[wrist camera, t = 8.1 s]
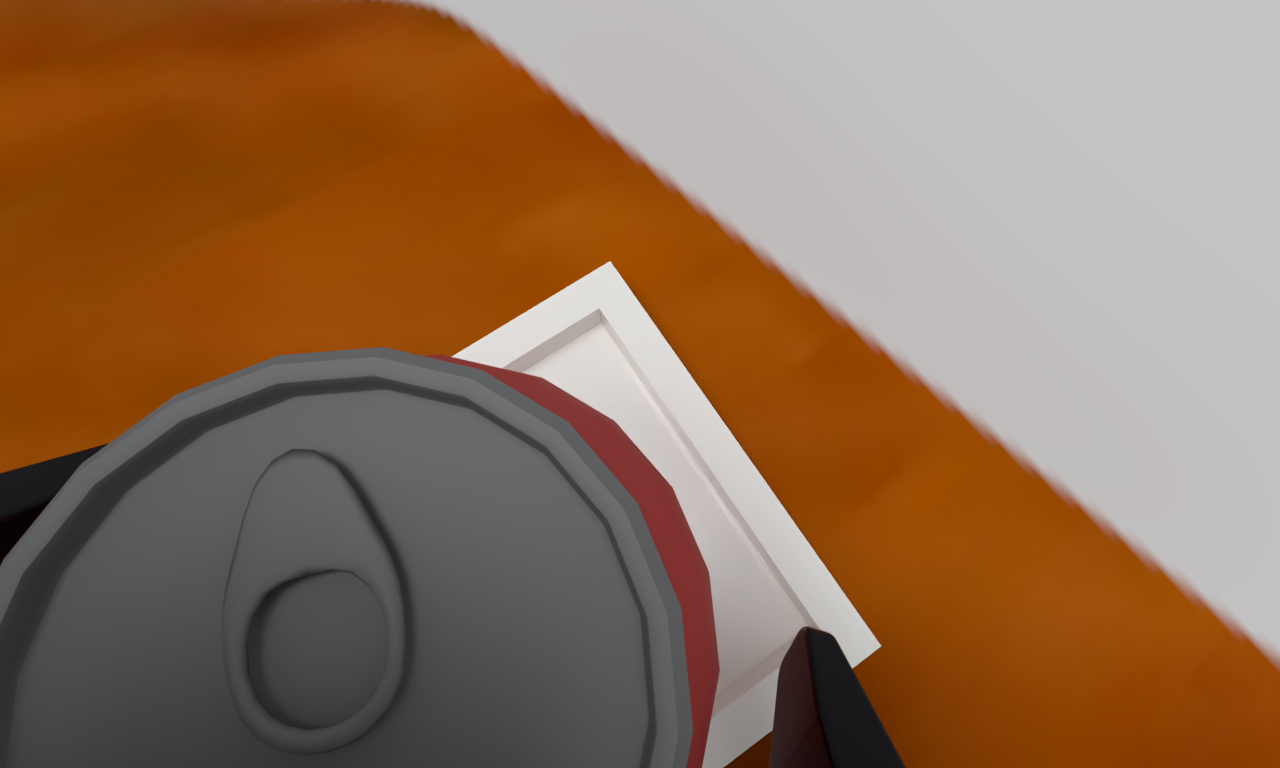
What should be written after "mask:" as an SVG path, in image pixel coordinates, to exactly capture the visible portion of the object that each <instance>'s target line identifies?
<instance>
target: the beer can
mask: <svg viewBox="0 0 1280 768" xmlns="http://www.w3.org/2000/svg"><path fill="white" fill-rule="evenodd" d="M719 672H720V667H719V658H718V649H717V639H716V630H715V621H714V612H713V603H712V594H711V585H710V576H709V571H708V568H707V566H706V564H705V561H704V559H703V557H702V554H701V552H700V550H699V548H698V545H697V543H696V541H695V538H694V536H693V534H692V531H691V529H690V527H689V524H688V522H687V520H686V517H685V515H684V513H683V511H682V508H681V506H680V504H679V501H678V499H677V497H676V494H675V492H674V490H673V487H672V486H671V485H670V484H669V483H668V481H667V480H666V479H665V478H664V477H663V476H662V475H661V473H660V472H659V471H658V470H657V469H656V468H655V467H654V465H653V464H652V463H651V462H650V461H649V460H648V459H647V457H646V456H645V455H644V454H643V453H642V452H641V450H640V449H639V448H638V447H637V446H636V445H635V444H634V442H633V441H632V440H631V439H630V438H629V437H628V436H627V434H626V433H625V432H624V431H623V430H622V429H621V428H620V426H619V425H618V424H617V423H616V422H615V421H614V420H612V419H611V418H609V417H607V416H606V415H604V414H602V413H601V412H599V411H597V410H596V409H594V408H592V407H591V406H589V405H587V404H586V403H584V402H582V401H581V400H579V399H577V398H575V397H574V396H572V395H570V394H569V393H567V392H565V391H564V390H562V389H560V388H559V387H557V386H555V385H554V384H552V383H550V382H549V381H547V380H545V379H544V378H542V377H538V376H533V375H529V374H525V373H520V372H516V371H511V370H507V369H503V368H498V367H494V366H489V365H485V364H481V363H476V362H472V361H467V360H463V359H459V358H454V357H449V356H445V355H429V356H419V355H415V354H410V353H406V352H402V351H397V350H393V349H389V348H384V347H379V348H366V349H354V350H341V351H329V352H316V353H304V354H291V355H279V356H276V357H274V358H271V359H268V360H266V361H263V362H260V363H258V364H255V365H253V366H250V367H247V368H245V369H242V370H239V371H237V372H234V373H232V374H229V375H226V376H224V377H221V378H218V379H216V380H213V381H210V382H208V383H205V384H203V385H200V386H197V387H195V388H192V389H189V390H187V391H184V392H182V393H179V394H176V395H175V396H173V397H172V398H171V399H169V400H168V401H167V402H165V403H164V404H163V405H161V406H160V407H158V408H157V409H156V410H154V411H153V412H152V413H150V414H149V415H147V416H146V417H145V418H143V419H142V420H141V421H139V422H138V423H136V424H135V425H134V426H132V427H131V428H130V429H128V430H127V431H125V432H124V433H123V434H121V435H120V436H119V437H117V438H116V439H115V440H113V441H112V442H110V443H109V444H108V445H106V446H105V447H104V448H102V449H101V450H99V451H98V452H97V453H95V454H94V455H93V456H91V457H90V458H88V459H87V460H86V461H84V462H83V463H82V464H81V465H80V466H79V467H78V469H77V470H76V471H75V472H74V473H73V475H72V476H71V477H70V478H69V480H68V481H67V482H66V483H65V485H64V486H63V487H62V488H61V489H60V491H59V492H58V493H57V494H56V496H55V497H54V498H53V499H52V500H51V502H50V503H49V504H48V505H47V507H46V508H45V509H44V510H43V511H42V513H41V514H40V515H39V516H38V518H37V519H36V520H35V521H34V523H33V524H32V525H31V526H30V527H29V529H28V530H27V531H26V532H25V534H24V535H23V536H22V537H21V538H20V540H19V541H18V542H17V543H16V545H15V546H14V547H13V548H12V549H11V551H10V552H9V553H8V554H7V556H6V557H5V558H4V559H3V561H2V564H1V566H0V768H702V765H703V759H704V754H705V749H706V743H707V738H708V732H709V727H710V721H711V716H712V710H713V705H714V700H715V694H716V689H717V683H718V678H719Z"/></svg>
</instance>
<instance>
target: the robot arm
mask: <svg viewBox="0 0 1280 768" xmlns="http://www.w3.org/2000/svg"><path fill="white" fill-rule="evenodd" d="M108 444H109V443H108ZM108 444H105V445H101V446H97V447H94V448H90V449H87V450H83V451H79V452H76V453H72V454H69V455H65V456H61V457H58V458H54V459H51V460H47V461H43V462H40V463H36V464H33V465H29V466H25V467H22V468H18V469H15V470H11V471H7V472H4V473H0V566H1V564H2V561H3V559H4V558H5V557H6V556H7V554H8V553H9V552H10V551H11V549H12V548H13V547H14V546H15V545H16V543H17V542H18V541H19V540H20V538H21V537H22V536H23V535H24V534H25V532H26V531H27V530H28V529H29V527H30V526H31V525H32V524H33V523H34V521H35V520H36V519H37V518H38V516H39V515H40V514H41V513H42V511H43V510H44V509H45V508H46V507H47V505H48V504H49V503H50V502H51V500H52V499H53V498H54V497H55V496H56V494H57V493H58V492H59V491H60V489H61V488H62V487H63V486H64V485H65V483H66V482H67V481H68V480H69V478H70V477H71V476H72V475H73V473H74V472H75V471H76V470H77V469H78V467H79V466H80V465H81V464H82V463H83V462H84V461H86V460H87V459H88V458H90V457H91V456H93V455H94V454H95V453H97V452H98V451H99V450H101V449H102V448H104V447H105V446H106V445H108ZM769 768H906V767H905V765H904V763H903V762H902V760H901V758H900V756H899V754H898V752H897V750H896V749H895V747H894V745H893V743H892V741H891V739H890V738H889V736H888V734H887V732H886V730H885V728H884V726H883V725H882V723H881V721H880V719H879V717H878V715H877V714H876V712H875V710H874V708H873V706H872V704H871V703H870V701H869V699H868V697H867V695H866V693H865V691H864V690H863V688H862V686H861V684H860V682H859V680H858V679H857V677H856V675H855V673H854V671H853V669H852V667H851V666H850V664H849V662H848V660H847V658H846V656H845V655H844V653H843V651H842V649H841V647H840V645H839V643H838V642H837V640H836V638H835V637H834V636H833V635H832V634H830V633H828V632H825V631H822V630H819V629H816V628H812V627H809V626H804V627H802V628H801V629H800V630H799V632H798V633H797V635H796V637H795V639H794V640H793V642H792V644H791V646H790V647H789V649H788V651H787V653H786V654H785V656H784V658H783V660H782V663H781V665H780V669H779V674H778V682H777V692H776V702H775V712H774V722H773V731H772V741H771V751H770V761H769Z"/></svg>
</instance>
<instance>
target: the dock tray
mask: <svg viewBox="0 0 1280 768" xmlns="http://www.w3.org/2000/svg"><path fill="white" fill-rule="evenodd" d="M452 357H454V358H459V359H463V360H467V361H472V362H476V363H481V364H485V365H489V366H494V367H498V368H503V369H507V370H511V371H516V372H520V373H525V374H529V375H533V376H538V377H542V378H544V379H545V380H547V381H549V382H550V383H552V384H554V385H555V386H557V387H559V388H560V389H562V390H564V391H565V392H567V393H569V394H570V395H572V396H574V397H575V398H577V399H579V400H581V401H582V402H584V403H586V404H587V405H589V406H591V407H592V408H594V409H596V410H597V411H599V412H601V413H602V414H604V415H606V416H607V417H609V418H611V419H612V420H614V421H615V422H616V423H617V424H618V425H619V426H620V428H621V429H622V430H623V431H624V432H625V433H626V434H627V436H628V437H629V438H630V439H631V440H632V441H633V442H634V444H635V445H636V446H637V447H638V448H639V449H640V450H641V452H642V453H643V454H644V455H645V456H646V457H647V459H648V460H649V461H650V462H651V463H652V464H653V465H654V467H655V468H656V469H657V470H658V471H659V472H660V473H661V475H662V476H663V477H664V478H665V479H666V480H667V481H668V483H669V484H670V485H671V486H672V487H673V490H674V492H675V494H676V497H677V499H678V501H679V504H680V506H681V508H682V511H683V513H684V515H685V517H686V520H687V522H688V524H689V527H690V529H691V531H692V534H693V536H694V538H695V541H696V543H697V545H698V548H699V550H700V552H701V554H702V557H703V559H704V561H705V564H706V566H707V568H708V571H709V576H710V585H711V594H712V603H713V612H714V621H715V630H716V639H717V649H718V658H719V667H720V672H719V678H718V683H717V689H716V694H715V700H714V705H713V710H712V716H711V721H710V727H709V732H708V738H707V743H706V749H705V754H704V759H703V765H702V768H724V767H725V766H726V765H728V764H729V763H730V762H732V761H733V760H734V759H735V758H737V757H738V756H739V755H741V754H742V753H743V752H745V751H746V750H747V749H748V748H750V747H751V746H752V745H754V744H755V743H756V742H758V741H759V740H760V739H761V738H763V737H764V736H765V735H767V734H768V733H769V732H771V731H772V730H773V722H774V712H775V702H776V692H777V682H778V674H779V669H780V665H781V663H782V660H783V658H784V656H785V654H786V653H787V651H788V649H789V647H790V646H791V644H792V642H793V640H794V639H795V637H796V635H797V633H798V632H799V630H800V629H801V628H802V627H804V626H809V627H812V628H816V629H819V630H822V631H825V632H828V633H830V634H832V635H833V636H834V637H835V638H836V640H837V642H838V643H839V645H840V647H841V649H842V651H843V653H844V655H845V656H846V658H847V660H848V662H849V664H850V666H851V667H852V668H854V667H855V666H856V665H858V664H859V663H860V662H861V661H863V660H864V659H865V658H867V657H868V656H869V655H871V654H872V653H873V652H874V651H876V650H877V649H878V648H880V647H881V645H880V644H879V642H878V641H877V639H876V638H875V636H874V635H873V634H872V632H871V631H870V629H869V628H868V627H867V625H866V624H865V622H864V621H863V619H862V618H861V617H860V615H859V614H858V612H857V611H856V610H855V608H854V607H853V605H852V604H851V602H850V601H849V600H848V598H847V597H846V595H845V594H844V592H843V591H842V590H841V588H840V587H839V585H838V584H837V583H836V581H835V580H834V578H833V577H832V575H831V574H830V573H829V571H828V570H827V568H826V567H825V565H824V564H823V563H822V561H821V560H820V558H819V557H818V556H817V554H816V553H815V551H814V550H813V548H812V547H811V546H810V544H809V543H808V541H807V540H806V539H805V537H804V536H803V534H802V533H801V531H800V530H799V529H798V527H797V526H796V524H795V523H794V521H793V520H792V519H791V517H790V516H789V514H788V513H787V512H786V510H785V509H784V507H783V506H782V504H781V503H780V502H779V500H778V499H777V497H776V496H775V495H774V493H773V492H772V490H771V489H770V487H769V486H768V485H767V483H766V482H765V480H764V479H763V477H762V476H761V475H760V473H759V472H758V470H757V469H756V468H755V466H754V465H753V463H752V462H751V460H750V459H749V458H748V456H747V455H746V453H745V452H744V451H743V449H742V448H741V446H740V445H739V443H738V442H737V441H736V439H735V438H734V436H733V435H732V433H731V432H730V431H729V429H728V428H727V426H726V425H725V424H724V422H723V421H722V419H721V418H720V416H719V415H718V414H717V412H716V411H715V409H714V408H713V407H712V405H711V404H710V402H709V401H708V399H707V398H706V397H705V395H704V394H703V392H702V391H701V389H700V388H699V387H698V385H697V384H696V382H695V381H694V380H693V378H692V377H691V375H690V374H689V372H688V371H687V370H686V368H685V367H684V365H683V364H682V363H681V361H680V360H679V358H678V357H677V355H676V354H675V353H674V351H673V350H672V348H671V347H670V345H669V344H668V343H667V341H666V340H665V338H664V337H663V336H662V334H661V333H660V331H659V330H658V328H657V327H656V326H655V324H654V323H653V321H652V320H651V318H650V317H649V316H648V314H647V313H646V311H645V310H644V309H643V307H642V306H641V304H640V303H639V301H638V300H637V299H636V297H635V296H634V294H633V293H632V292H631V290H630V289H629V287H628V286H627V284H626V283H625V282H624V280H623V279H622V277H621V276H620V274H619V273H618V272H617V270H616V269H615V267H614V266H613V265H612V263H611V262H610V261H609V262H608V263H606V264H604V265H603V266H601V267H599V268H598V269H596V270H595V271H593V272H591V273H590V274H588V275H586V276H585V277H583V278H581V279H580V280H578V281H576V282H575V283H573V284H571V285H570V286H568V287H566V288H565V289H563V290H561V291H560V292H558V293H556V294H555V295H553V296H551V297H550V298H548V299H547V300H545V301H543V302H542V303H540V304H538V305H537V306H535V307H533V308H532V309H530V310H528V311H527V312H525V313H523V314H522V315H520V316H518V317H517V318H515V319H513V320H512V321H510V322H508V323H507V324H505V325H503V326H502V327H500V328H498V329H497V330H495V331H494V332H492V333H490V334H489V335H487V336H485V337H484V338H482V339H480V340H479V341H477V342H475V343H474V344H472V345H470V346H469V347H467V348H465V349H464V350H462V351H460V352H459V353H457V354H455V355H454V356H452Z"/></svg>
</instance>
